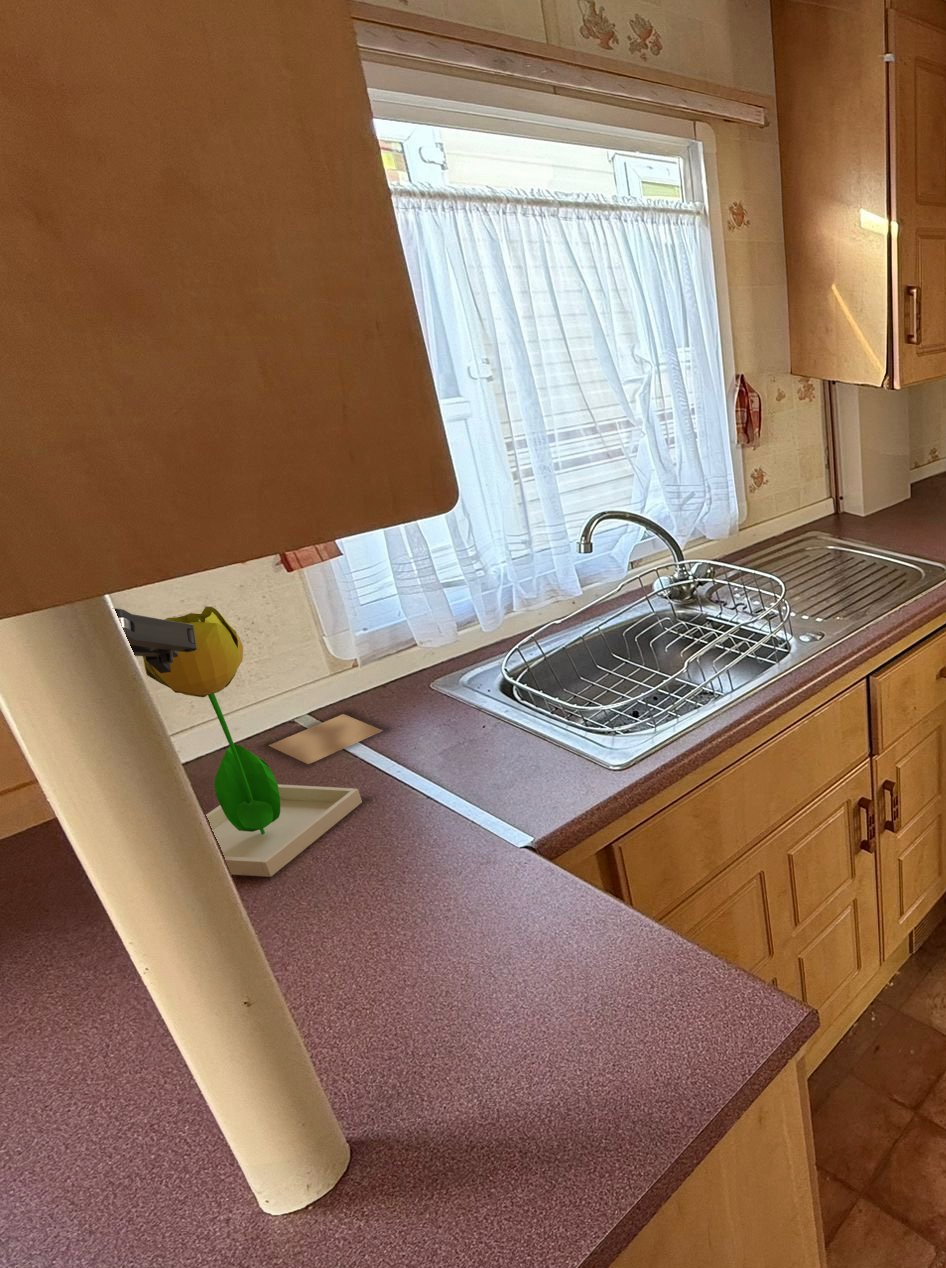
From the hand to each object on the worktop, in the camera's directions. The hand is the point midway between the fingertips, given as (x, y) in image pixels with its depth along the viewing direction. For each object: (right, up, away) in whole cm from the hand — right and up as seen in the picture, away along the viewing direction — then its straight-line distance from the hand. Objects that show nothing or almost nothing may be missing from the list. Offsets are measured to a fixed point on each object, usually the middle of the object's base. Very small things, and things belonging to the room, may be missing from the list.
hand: (65, 672), depth 82 cm
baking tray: (-3, -23, +24) cm, 34 cm away
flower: (-3, -23, +24) cm, 33 cm away
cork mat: (-11, -14, +44) cm, 47 cm away
